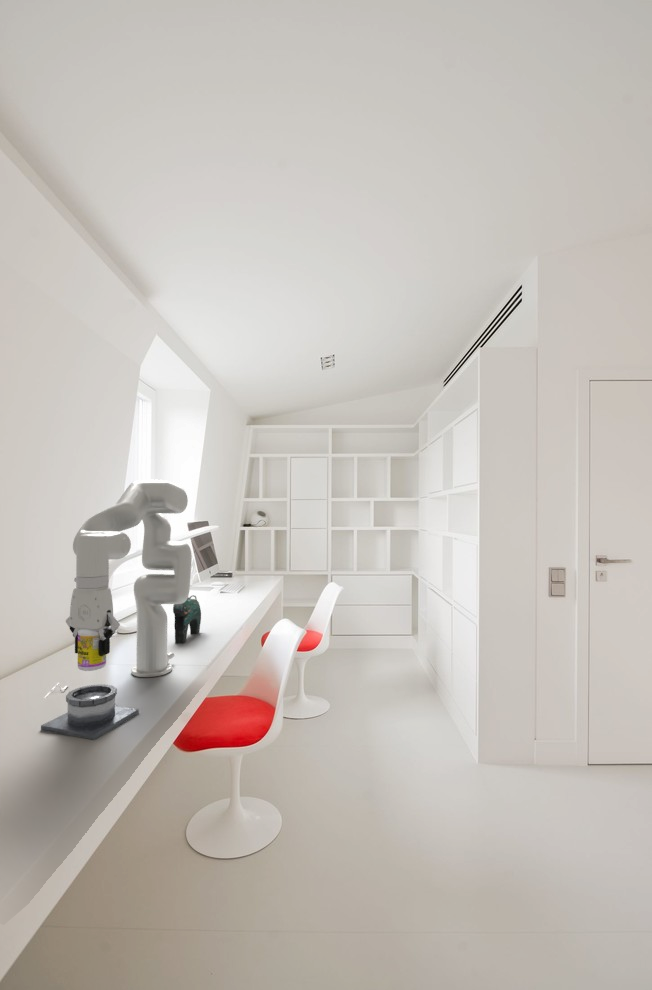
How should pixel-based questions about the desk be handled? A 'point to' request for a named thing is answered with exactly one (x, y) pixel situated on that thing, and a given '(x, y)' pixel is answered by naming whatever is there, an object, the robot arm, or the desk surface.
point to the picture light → (55, 687)
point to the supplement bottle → (89, 650)
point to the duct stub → (90, 713)
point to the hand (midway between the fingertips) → (92, 652)
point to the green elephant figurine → (186, 619)
